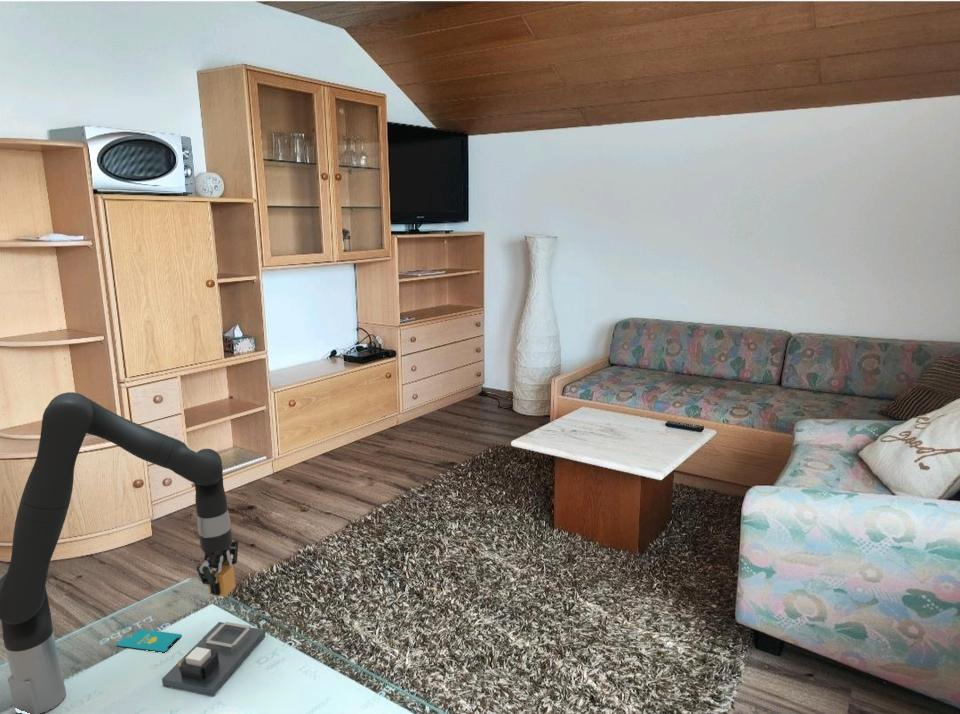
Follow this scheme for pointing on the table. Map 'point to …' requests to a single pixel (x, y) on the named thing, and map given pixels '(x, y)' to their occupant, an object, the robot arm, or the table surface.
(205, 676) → the grey control panel
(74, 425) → the robot arm
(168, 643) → the smartphone
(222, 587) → the cap
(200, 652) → the button
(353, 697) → the table surface
